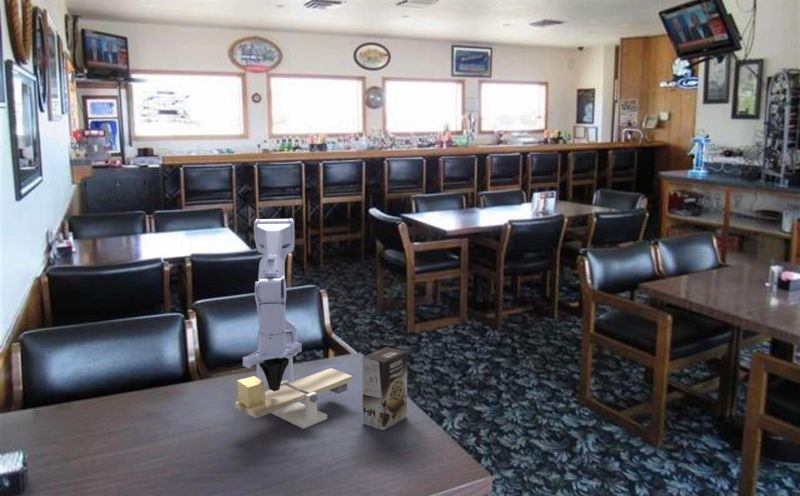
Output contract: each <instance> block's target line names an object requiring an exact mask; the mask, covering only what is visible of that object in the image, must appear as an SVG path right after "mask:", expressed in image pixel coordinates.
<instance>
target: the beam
mask: <svg viewBox="0 0 800 496" xmlns="http://www.w3.org/2000/svg"><path fill="white" fill-rule="evenodd" d="M353 377H354V376H353V375H351V374H348V373H345V372H343V371H340V370H338V369H335V368H331V367H330V368H326V369H323V370H322V371H319V372H317V373H316V372H315V373H313V374H311V375H308V376H305V377H302V378H299V379H297V380H293V382H291V383H285V384H284V385H282V386H280V389H279V390H277V391H272V390H268V391H265V402H266V404H265V405H261V406H258V407H255V408H251V409H248V408H246V407H245V406H244V405H242V404H241V403H240V402H239V401H238V400H237V401H235V402H234V407H235V409H236V410H240V411H241V412H243V413H244V414H247V415H249V416H251V417H253V418H255V419H258V418H260V417H264V416H265V415H268V414H272V413H271V412H274V411H276V410H279V409H281V408H284V407H287V406H289V405H292V404H294V403H297V402H302V401H305V395H306V394H309V393H311V392H315V393H317V396H318V395H320V394H323V393H324V392H327V391H330V392H332V393H335V394H337V395H338V394H341V393H344V392H345V391H346V392H347V391H348V383H351V382H353V381H354V379H353Z"/></svg>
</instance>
